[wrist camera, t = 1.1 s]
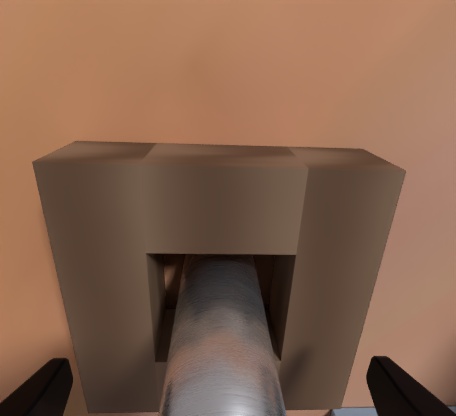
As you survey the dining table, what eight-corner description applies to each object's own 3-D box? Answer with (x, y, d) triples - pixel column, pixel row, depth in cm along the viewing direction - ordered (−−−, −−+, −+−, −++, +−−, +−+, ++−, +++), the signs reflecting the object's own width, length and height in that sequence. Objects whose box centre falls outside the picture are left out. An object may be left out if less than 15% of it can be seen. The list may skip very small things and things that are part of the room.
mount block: (362, 148, 12) (406, 170, 9) (319, 353, 16) (340, 409, 14) (75, 141, 11) (32, 162, 9) (110, 354, 16) (88, 413, 13)
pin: (256, 235, 13) (345, 581, 4) (251, 294, 15) (312, 657, 6) (183, 233, 13) (110, 591, 4) (184, 293, 15) (131, 669, 5)
